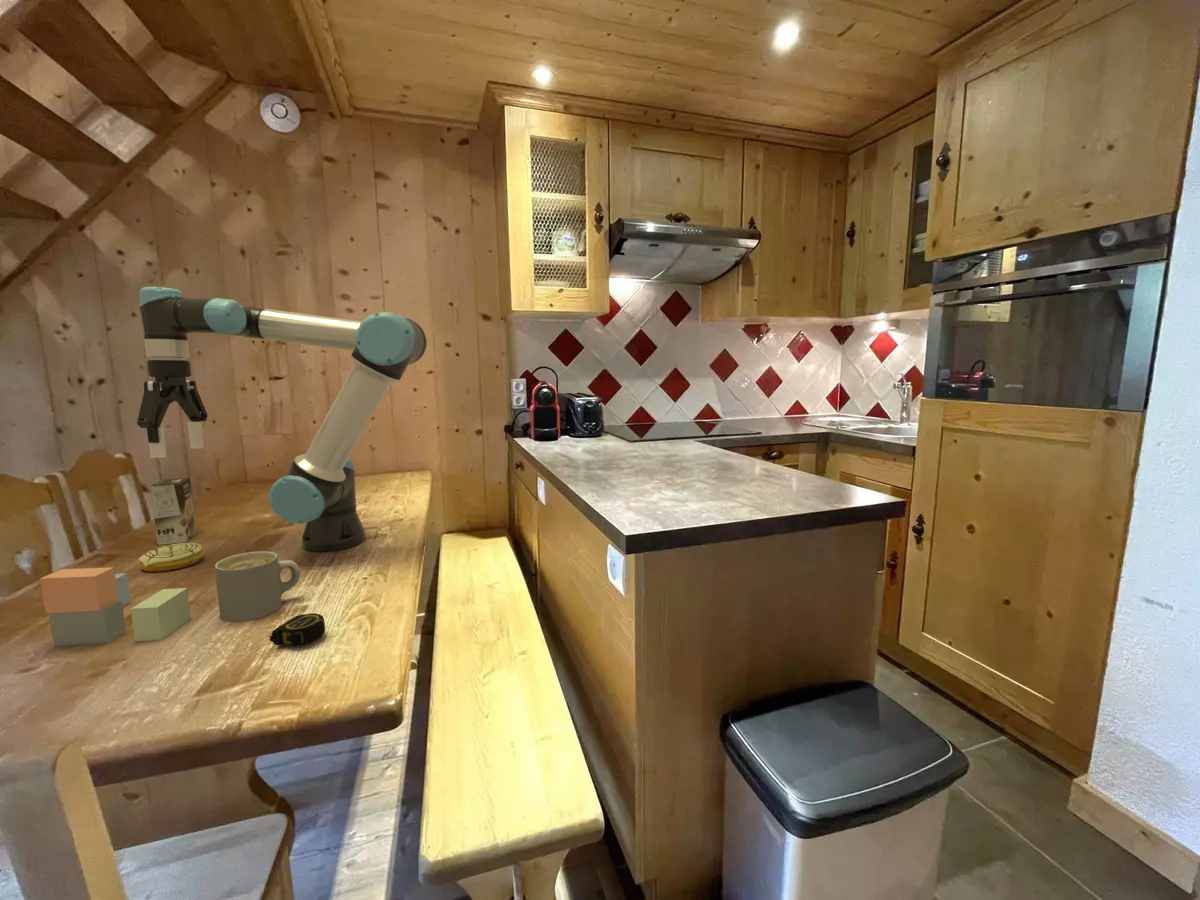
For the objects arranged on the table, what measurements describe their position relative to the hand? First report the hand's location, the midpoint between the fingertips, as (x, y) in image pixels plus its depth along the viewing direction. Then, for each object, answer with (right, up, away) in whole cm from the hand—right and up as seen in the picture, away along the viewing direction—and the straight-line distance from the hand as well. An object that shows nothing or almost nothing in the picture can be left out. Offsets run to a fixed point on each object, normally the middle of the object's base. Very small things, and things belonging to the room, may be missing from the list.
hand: (179, 452), depth 119 cm
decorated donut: (-4, -27, +4) cm, 27 cm away
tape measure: (+45, -32, -31) cm, 64 cm away
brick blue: (0, -30, -19) cm, 35 cm away
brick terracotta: (+10, -26, -32) cm, 42 cm away
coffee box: (-18, -24, +22) cm, 37 cm away
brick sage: (+19, -31, -27) cm, 46 cm away
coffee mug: (+31, -30, -18) cm, 47 cm away
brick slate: (+10, -32, -31) cm, 45 cm away
